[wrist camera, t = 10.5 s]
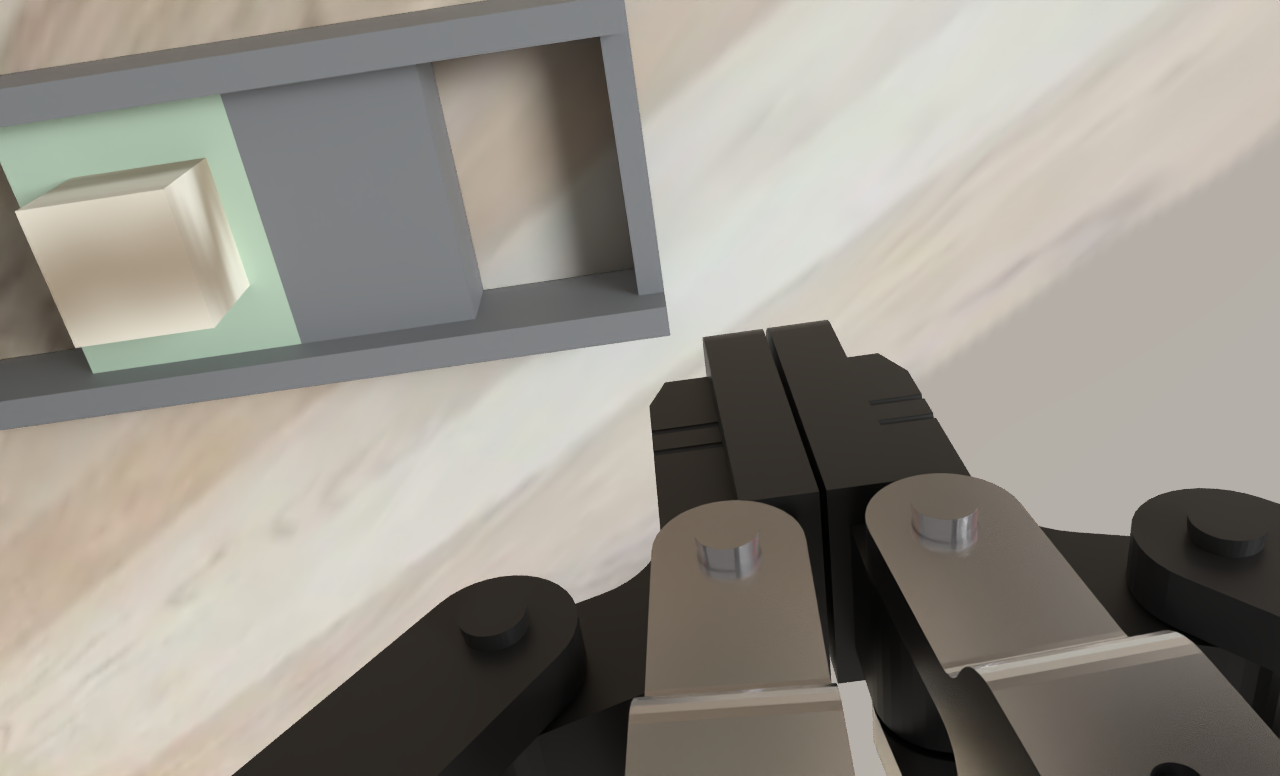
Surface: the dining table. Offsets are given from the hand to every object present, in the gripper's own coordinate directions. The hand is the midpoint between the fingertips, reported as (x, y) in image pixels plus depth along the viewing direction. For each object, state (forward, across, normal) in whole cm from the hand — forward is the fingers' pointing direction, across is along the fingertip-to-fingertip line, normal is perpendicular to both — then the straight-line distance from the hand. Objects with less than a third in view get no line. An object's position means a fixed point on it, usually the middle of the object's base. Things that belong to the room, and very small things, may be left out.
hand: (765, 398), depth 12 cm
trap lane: (+29, +16, +4) cm, 33 cm away
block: (+26, +19, +4) cm, 32 cm away
